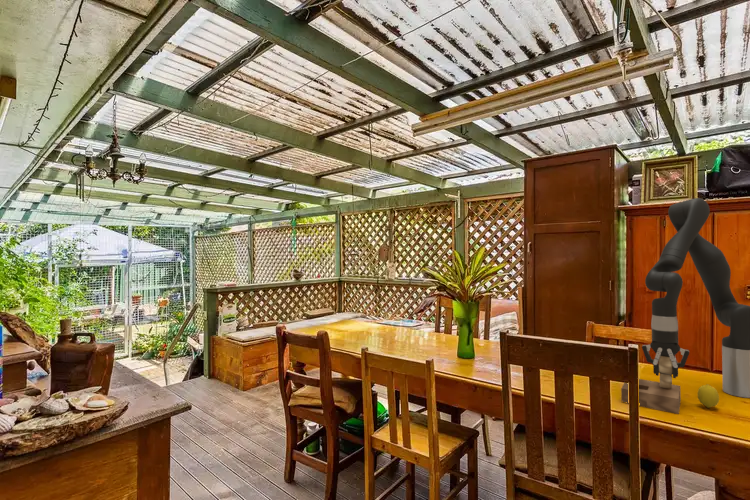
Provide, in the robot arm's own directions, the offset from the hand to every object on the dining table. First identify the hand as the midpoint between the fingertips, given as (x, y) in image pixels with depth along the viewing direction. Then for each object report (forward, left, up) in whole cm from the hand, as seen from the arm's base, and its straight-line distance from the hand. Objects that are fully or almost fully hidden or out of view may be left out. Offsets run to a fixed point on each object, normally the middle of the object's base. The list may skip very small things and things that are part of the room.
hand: (665, 376), depth 137 cm
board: (+4, +2, -9) cm, 10 cm away
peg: (0, 0, -4) cm, 4 cm away
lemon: (-11, -2, -9) cm, 15 cm away
